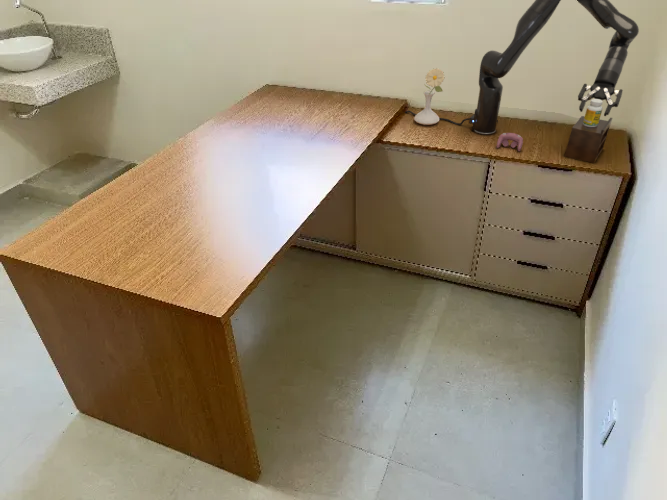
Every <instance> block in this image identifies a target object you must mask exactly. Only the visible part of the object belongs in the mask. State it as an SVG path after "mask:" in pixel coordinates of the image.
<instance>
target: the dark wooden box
mask: <svg viewBox="0 0 667 500" xmlns="http://www.w3.org/2000/svg"><path fill="white" fill-rule="evenodd" d="M584 117H585V115H581V117H579V118H578V120H577V121H576V122H575V124H574V125H573V126H572V127H571V130H570V134H569V136H568V137H569V138H568V142H567V144H566V145H567V146H566V149H565V153H564V157H565V158H570V159H574V160H577V161H583V162H586V163H587V162H588V163H591V164H594V163H595V162H596V161H597V159H598V158H599V156H600V154H602V151H603V150H604V147H605V143H606V140H607V137H608V134H609V131H610V127H611V124H612V121H613V117H609V119H608V120H605V119H601V118H600V119H599V123H598V126H596V127H587V126H584V125H583V121H584Z"/></svg>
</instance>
